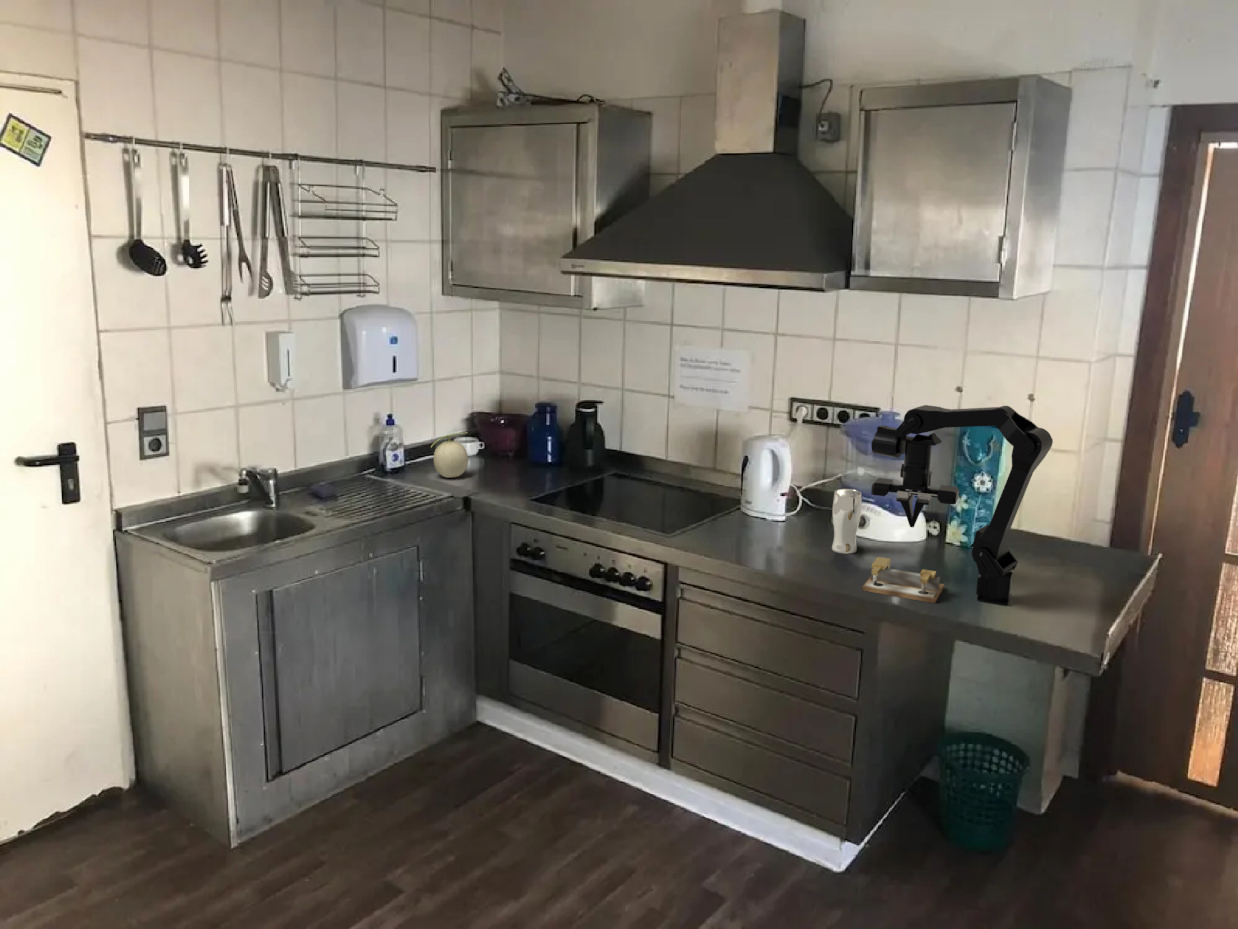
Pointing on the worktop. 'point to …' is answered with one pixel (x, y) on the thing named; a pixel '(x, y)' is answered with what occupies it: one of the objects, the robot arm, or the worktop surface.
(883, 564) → the slider
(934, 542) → the worktop surface
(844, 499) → the beer glass
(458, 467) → the fruit
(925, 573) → the board
